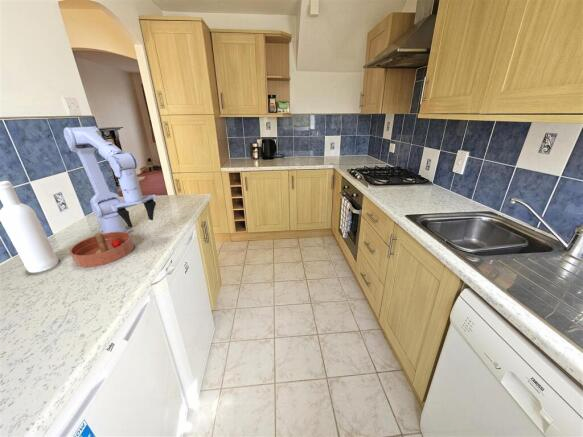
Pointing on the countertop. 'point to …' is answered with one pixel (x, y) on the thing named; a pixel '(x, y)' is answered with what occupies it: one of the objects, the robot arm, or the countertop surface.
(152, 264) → the countertop surface
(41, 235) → the bottle
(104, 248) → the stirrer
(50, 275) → the countertop surface
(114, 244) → the tomato
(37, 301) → the countertop surface
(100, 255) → the bowl
